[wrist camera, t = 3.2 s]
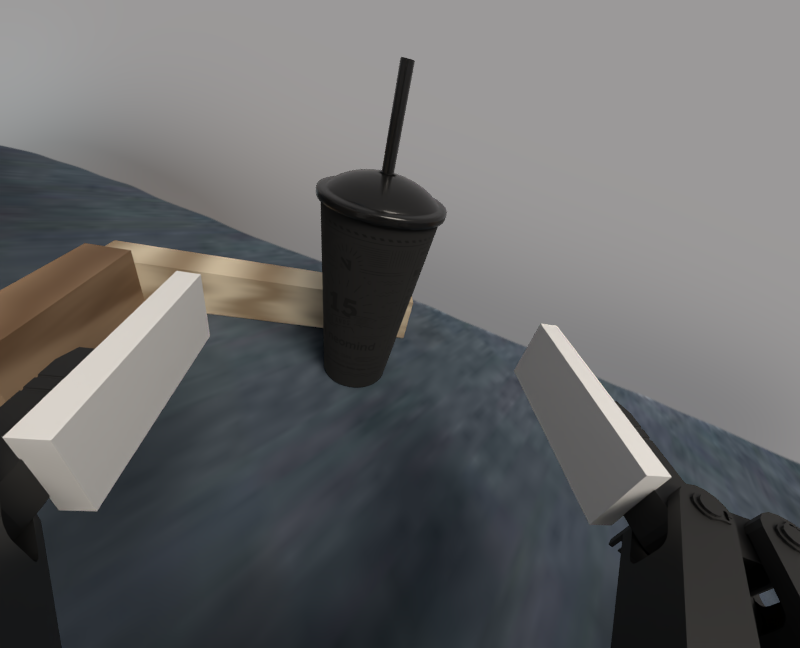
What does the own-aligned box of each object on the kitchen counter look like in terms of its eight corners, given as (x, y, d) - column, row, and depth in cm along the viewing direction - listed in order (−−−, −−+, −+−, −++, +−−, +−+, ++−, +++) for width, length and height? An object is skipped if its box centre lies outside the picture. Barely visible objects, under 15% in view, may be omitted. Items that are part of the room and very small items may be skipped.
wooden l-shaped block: (-45, 422, 17) (-107, 350, 14) (127, 282, 29) (111, 228, 27) (417, 451, 22) (437, 400, 19) (401, 319, 34) (412, 276, 31)
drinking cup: (328, 326, 30) (357, 51, 19) (407, 351, 30) (486, 84, 19) (286, 382, 24) (294, 21, 13) (386, 415, 24) (485, 69, 12)
